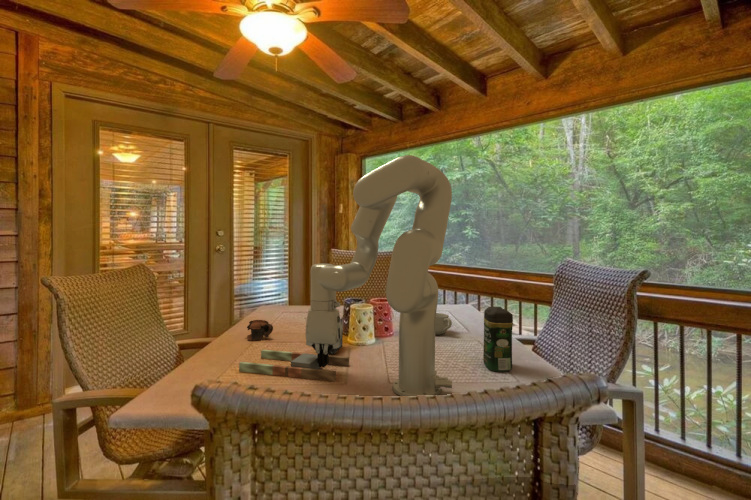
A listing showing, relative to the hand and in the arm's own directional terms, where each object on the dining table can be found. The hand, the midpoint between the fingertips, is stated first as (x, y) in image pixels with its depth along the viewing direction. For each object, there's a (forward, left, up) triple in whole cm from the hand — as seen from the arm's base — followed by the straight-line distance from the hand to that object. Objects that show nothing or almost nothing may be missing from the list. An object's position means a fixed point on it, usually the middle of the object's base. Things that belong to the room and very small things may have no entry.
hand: (323, 365), depth 113 cm
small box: (+5, -19, -2) cm, 20 cm away
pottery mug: (+37, -27, -2) cm, 46 cm away
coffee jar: (-51, -16, -2) cm, 54 cm away
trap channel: (+9, 0, -2) cm, 9 cm away
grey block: (+5, +1, -2) cm, 5 cm away
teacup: (-30, -50, -2) cm, 59 cm away
